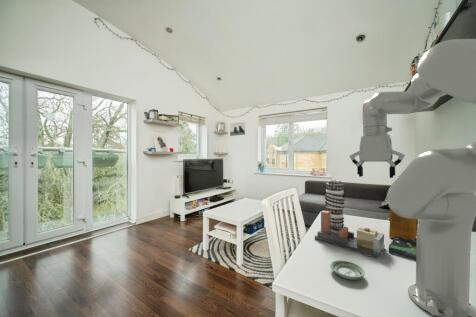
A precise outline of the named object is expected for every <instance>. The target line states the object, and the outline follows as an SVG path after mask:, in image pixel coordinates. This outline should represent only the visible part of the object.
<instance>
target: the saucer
mask: <svg viewBox="0 0 476 317" xmlns="http://www.w3.org/2000/svg"><path fill="white" fill-rule="evenodd" d="M329 265H330V268H331V270H332V271H334V273H335V274H336V275H338V276H339V277H341V278H343V279H347V280H359V279H361V278H364V277H365V274H366V270H365V269H364V268H363V267H362V266H361V265H359V264H357V263H355V262H353V261H349V260H343V259H337V260H334V261H333V260H332V261H331V262H330V264H329Z"/></svg>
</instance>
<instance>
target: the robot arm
mask: <svg viewBox="0 0 476 317" xmlns="http://www.w3.org/2000/svg"><path fill="white" fill-rule="evenodd" d="M410 89H411V91H380V92H377V93H375V94H374V95H373V96H372V97H371V98H370V99H367V100H365V101H364V102H363V104H362V133H363V134H362V136H361V138H360V141H359V149H358V151H356V152H354V153H352V154H351V155H349V158H350V160H351V161H352V163H353V164H354V165H355V166H356V168H357V173H356V174H357V175H358V177H361V178H362V177H363V176H364V167H363V164H364V163H365V162H368V163H369V162H372V163H373V162H378V163H379V162H387V163H388V165H390V166H389V178H390V179H393V178H394V177H395V176H396V167H397V166H398V165H399V164H400V163H402V161H403V160H404V158H405V156H406V155H405V153H402V152H399V151H396V150H394V149H393V143H392V138H391V135H390V134H388V133H389V132H392V131H393V127H388V115H410V114H414V113H417V112H421V111H423V110H426V109H429V108H430V107H433V105H435V103H437V101H438V100H439V99H440V98H441V97H443V96H445V95H449V96H451V97H454V98H455V99H457V100H460V101H462V102H465V103H467V104H472V105H473V104H474V105H476V38H461V39H460V38H457V39H456V38H455V39H454V38H453V39H447V40H443V41H441V42H439V43H436V44H434V45H433V46H431V48H429V49H428V50H427V51H425V53H424V54H423V55H422V57H421V58H420V60H419V62H418V64H417V67H416V73H415V75H414V76H413V77H412V79H411V82H410ZM393 155H395V156H397V157H398V158H397V159H396V160H395V161H393ZM356 157H358V158H359V161H358V160H356ZM386 198H387V204H388V207H389V210H390V209H391V210H392V211H393V212H394V213H395V214H397V215H398V216H401V217H403V218H408V219H418V220H420V222H419V223H418V228H417V236H416V241H417V244H416V260H415V261H416V262H415V263H416V264H415V284H411V285H409V287H408V289H407V291H408V292H407V293H408V296H409V298H410V299H411V300H412V301H413V302H414V304H416V305H417V306H418V307H420V308H421V309H423V310H425V311H426V312H428V313H430V315H433V316H435V317H476V307H475V306H474V305H472V303H470V282H471V280H470V279H471V278H470V277H471V250H472V247H471V245H472V243H471V242H472V230H473V225H474V222H475V220H476V139H474V140H473V141H472V142H471V143H469V144H468V145H466V146H464V147H460V148H436V149H431V150H427V151H424V152H422V153H420V154H419V155H417V156H415V158H414V159H412V161H411V162H410V163H409V164H408V165H407V166H406V167H405V169H404V170H403V171H402V172H401V173H400V174H399V175H398V177H397V178H396V179H395V181H394V182H393V183H392V185H391V186H390V187H389V189H388V193H387V196H386Z"/></svg>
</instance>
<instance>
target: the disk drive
mask: <svg viewBox="0 0 476 317" xmlns="http://www.w3.org/2000/svg"><path fill="white" fill-rule="evenodd" d="M416 244H417V240H414V241H413V240H409V239H407V240H405V239H402V238H401V237H396V236H395V237H394V238H392V240H391V242H390V244H389V246H388V253H389V254H393V255H396V256H400V257H403V258H408V259H410V260H411V259H412V260H414V261H416Z"/></svg>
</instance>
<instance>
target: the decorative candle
mask: <svg viewBox="0 0 476 317" xmlns="http://www.w3.org/2000/svg"><path fill="white" fill-rule="evenodd" d="M325 184H326V188H325V192H326V193H325V194H324V196H325V197H324V200H325V201H324V203H325V204H324V206H325V207H326V209H325V211H329V212H330V227H333V228H337V229H342V228H343V227H345V223H344V222H345V220H344V219H345V217H344V208H345V206H344V205H345V201H346V200H345V199H344V197H346V195H345V194H346V192H345V191H344V183H343V182H342V181H341V180H337V179H330V180H328V181H327V182H326V183H325Z"/></svg>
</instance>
